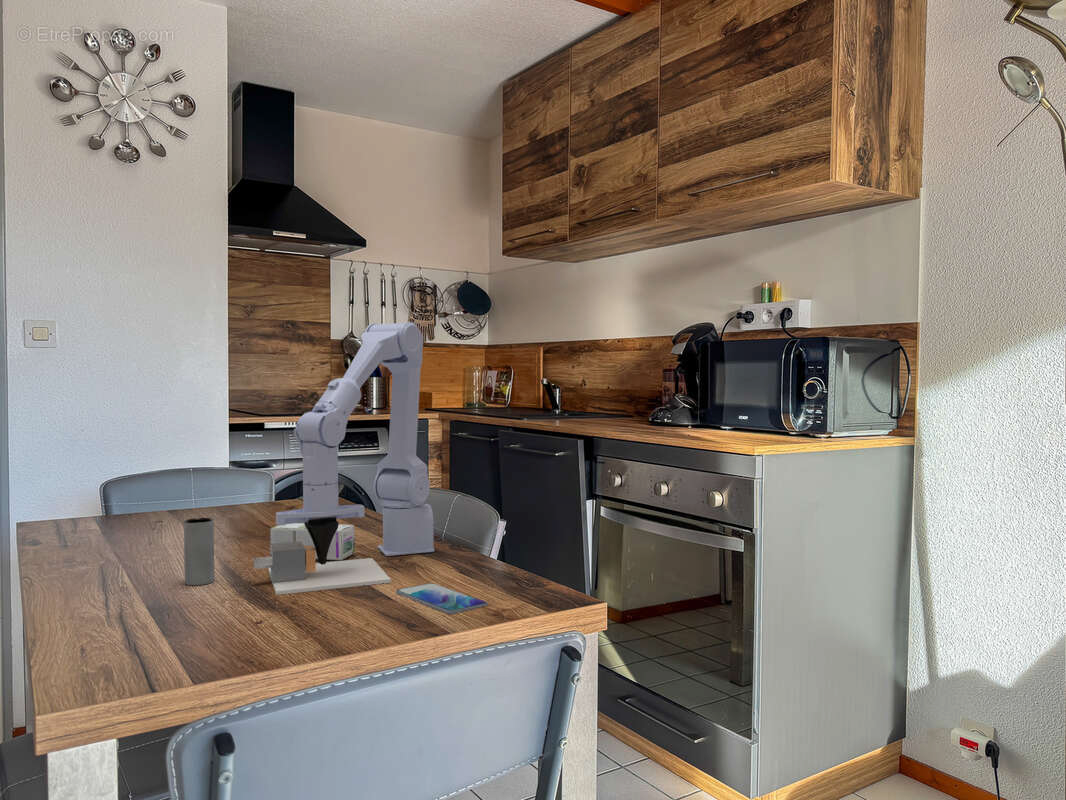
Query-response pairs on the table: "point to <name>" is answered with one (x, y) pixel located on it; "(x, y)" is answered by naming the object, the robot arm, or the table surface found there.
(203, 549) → the grey cylinder
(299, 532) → the syrup box
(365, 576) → the mounting plate
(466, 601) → the smartphone
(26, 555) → the table surface
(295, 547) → the bearing block
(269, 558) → the shaft
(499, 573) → the table surface
